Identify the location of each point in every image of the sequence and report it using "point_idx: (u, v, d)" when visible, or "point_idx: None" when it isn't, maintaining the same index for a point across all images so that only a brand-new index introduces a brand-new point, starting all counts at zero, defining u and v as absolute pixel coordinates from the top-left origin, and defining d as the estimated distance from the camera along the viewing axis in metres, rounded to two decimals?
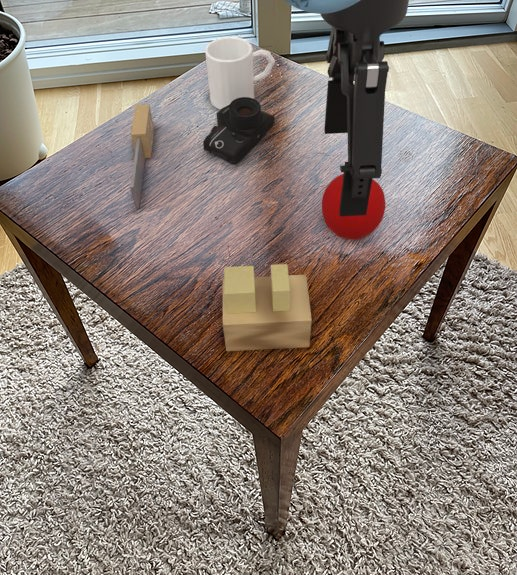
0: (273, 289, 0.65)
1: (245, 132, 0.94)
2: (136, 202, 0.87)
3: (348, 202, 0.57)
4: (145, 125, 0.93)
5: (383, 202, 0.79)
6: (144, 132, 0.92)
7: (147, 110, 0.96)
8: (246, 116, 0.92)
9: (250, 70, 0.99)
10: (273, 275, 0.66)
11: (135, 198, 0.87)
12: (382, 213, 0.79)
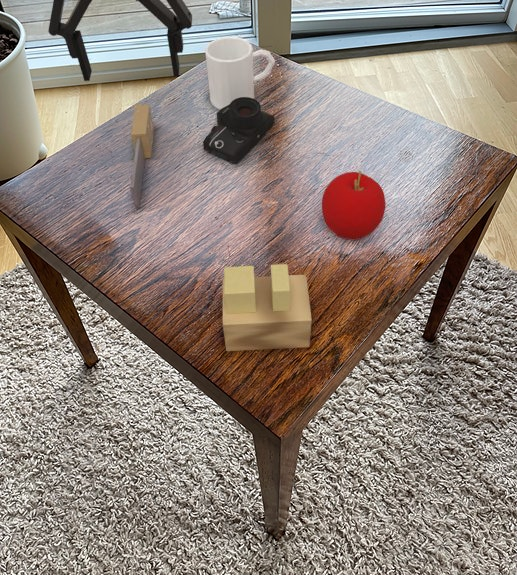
0: (273, 289, 0.65)
1: (245, 132, 0.94)
2: (136, 202, 0.87)
3: (177, 62, 0.86)
4: (145, 125, 0.93)
5: (383, 202, 0.79)
6: (144, 132, 0.92)
7: (147, 110, 0.96)
8: (246, 116, 0.92)
9: (250, 70, 0.99)
10: (273, 275, 0.66)
11: (135, 198, 0.87)
12: (382, 213, 0.79)
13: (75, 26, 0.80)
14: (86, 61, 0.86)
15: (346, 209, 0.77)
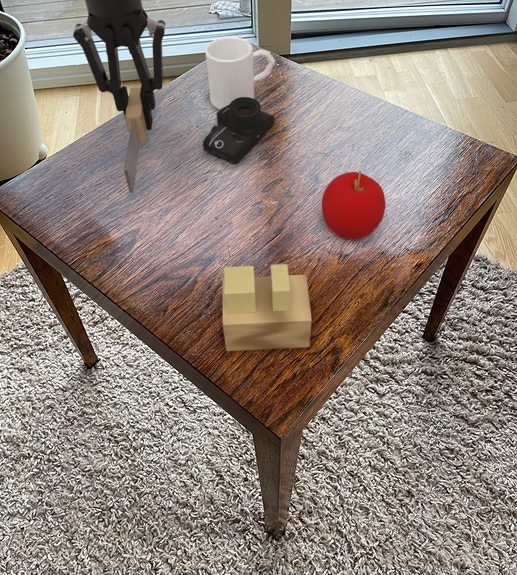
0: (273, 289, 0.65)
1: (245, 132, 0.94)
2: (130, 185, 0.84)
3: (149, 118, 0.93)
4: (140, 108, 0.90)
5: (383, 202, 0.79)
6: (139, 114, 0.89)
7: None
8: (246, 116, 0.92)
9: (250, 70, 0.99)
10: (273, 275, 0.66)
11: (129, 181, 0.84)
12: (382, 213, 0.79)
13: (116, 80, 0.87)
14: None
15: (346, 209, 0.77)
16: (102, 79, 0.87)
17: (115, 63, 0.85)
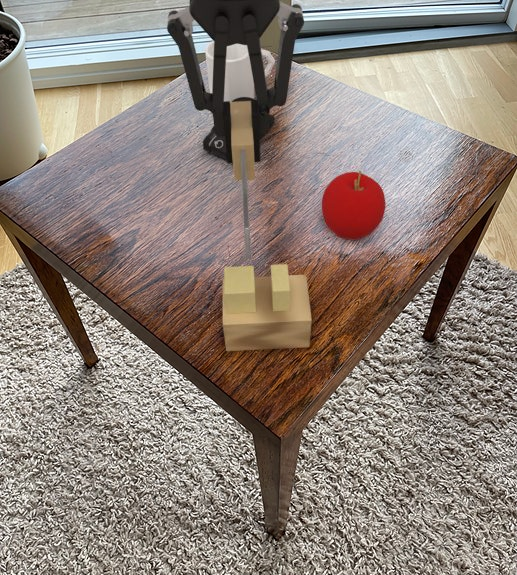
0: (273, 289, 0.65)
1: None
2: (248, 250, 0.57)
3: None
4: (251, 132, 0.63)
5: (383, 202, 0.79)
6: (251, 142, 0.62)
7: (249, 109, 0.65)
8: None
9: (250, 70, 0.99)
10: (273, 275, 0.66)
11: (248, 244, 0.56)
12: (382, 213, 0.79)
13: (222, 94, 0.60)
14: None
15: (346, 209, 0.77)
16: (201, 92, 0.60)
17: (224, 69, 0.58)
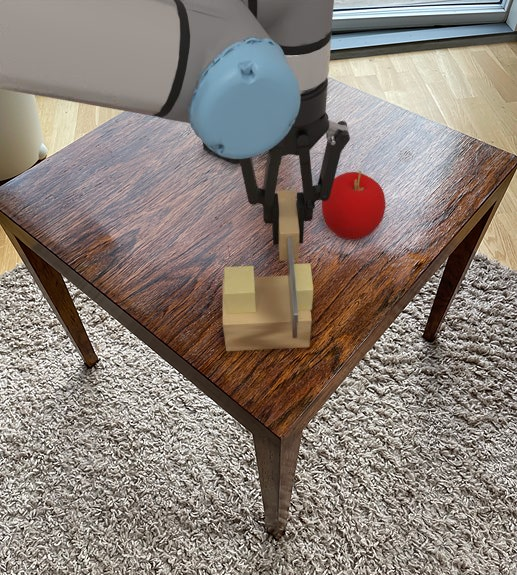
0: (296, 288, 0.65)
1: None
2: (295, 331, 0.64)
3: None
4: (296, 220, 0.71)
5: (383, 202, 0.79)
6: (297, 231, 0.70)
7: (294, 198, 0.73)
8: None
9: None
10: (297, 275, 0.66)
11: (296, 326, 0.64)
12: (382, 213, 0.79)
13: (273, 192, 0.68)
14: None
15: (346, 209, 0.77)
16: (255, 191, 0.68)
17: (276, 173, 0.66)
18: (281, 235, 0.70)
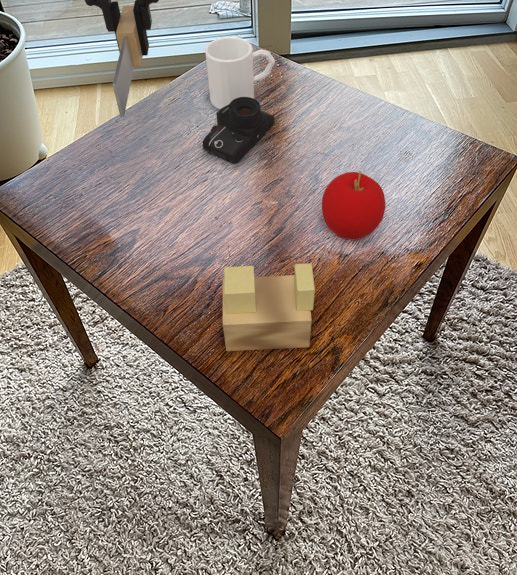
0: (298, 288, 0.65)
1: (244, 132, 0.94)
2: (120, 107, 0.71)
3: (145, 40, 0.80)
4: (134, 24, 0.77)
5: (383, 202, 0.79)
6: (132, 31, 0.76)
7: None
8: (245, 116, 0.92)
9: (250, 70, 0.99)
10: (298, 275, 0.66)
11: (119, 101, 0.70)
12: (382, 213, 0.79)
13: None
14: None
15: (346, 209, 0.77)
16: None
17: None
18: (117, 35, 0.76)
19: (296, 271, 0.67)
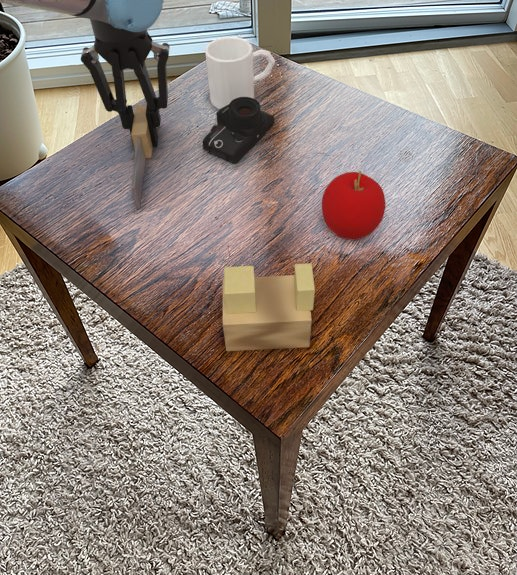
0: (298, 288, 0.65)
1: (244, 132, 0.94)
2: (137, 202, 0.87)
3: (155, 135, 0.96)
4: (145, 125, 0.93)
5: (383, 202, 0.79)
6: (144, 132, 0.92)
7: None
8: (245, 116, 0.92)
9: (250, 70, 0.99)
10: (298, 275, 0.66)
11: (136, 198, 0.87)
12: (382, 213, 0.79)
13: (122, 100, 0.90)
14: None
15: (346, 209, 0.77)
16: (108, 99, 0.90)
17: (121, 84, 0.88)
18: (132, 136, 0.92)
19: (296, 271, 0.67)
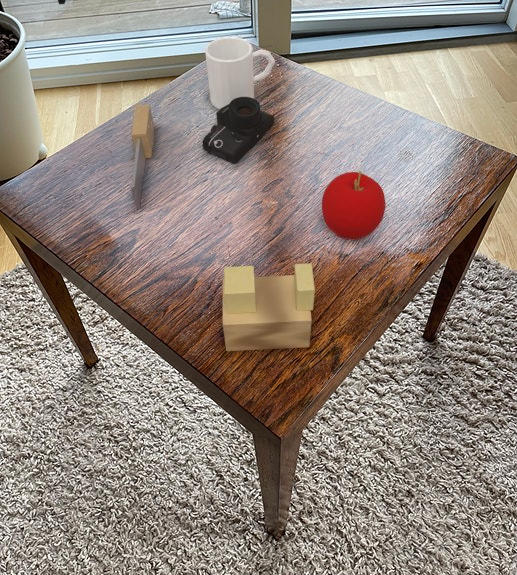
0: (298, 288, 0.65)
1: (244, 132, 0.94)
2: (137, 202, 0.87)
3: None
4: (145, 125, 0.93)
5: (383, 202, 0.79)
6: (144, 132, 0.92)
7: (147, 110, 0.95)
8: (245, 116, 0.92)
9: (250, 70, 0.99)
10: (298, 275, 0.66)
11: (136, 198, 0.87)
12: (382, 213, 0.79)
13: None
14: None
15: (346, 209, 0.77)
16: None
17: None
18: (132, 136, 0.92)
19: (296, 271, 0.67)
